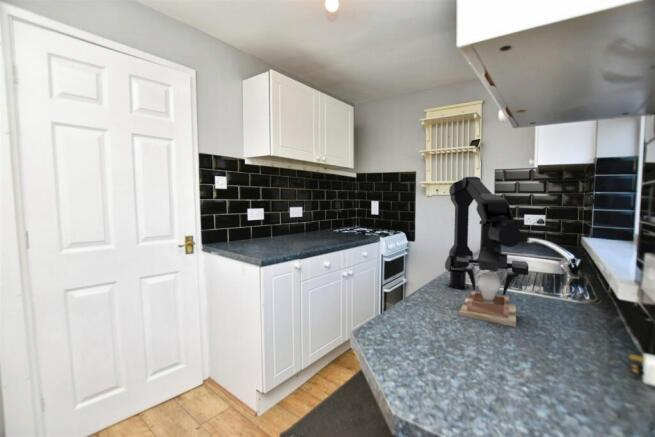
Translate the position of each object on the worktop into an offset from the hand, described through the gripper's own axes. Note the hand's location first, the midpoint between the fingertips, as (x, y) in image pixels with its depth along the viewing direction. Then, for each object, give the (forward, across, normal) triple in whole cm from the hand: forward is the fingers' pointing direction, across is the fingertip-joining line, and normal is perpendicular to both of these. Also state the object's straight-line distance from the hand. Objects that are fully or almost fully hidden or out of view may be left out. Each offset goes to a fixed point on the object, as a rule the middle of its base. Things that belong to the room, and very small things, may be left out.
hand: (488, 292), depth 89 cm
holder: (+6, 0, 0) cm, 6 cm away
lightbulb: (+5, 0, 0) cm, 5 cm away
